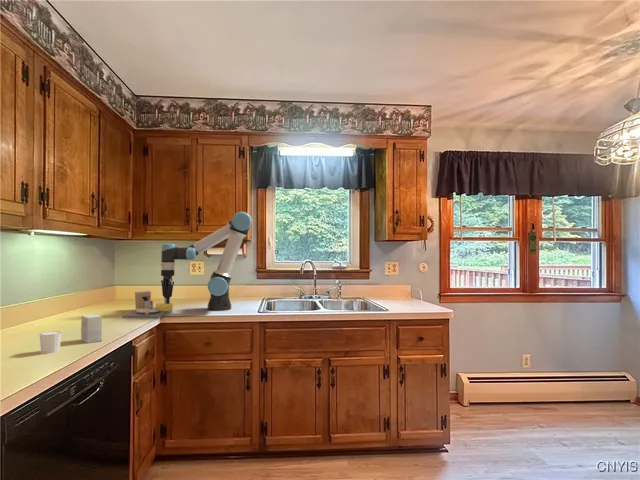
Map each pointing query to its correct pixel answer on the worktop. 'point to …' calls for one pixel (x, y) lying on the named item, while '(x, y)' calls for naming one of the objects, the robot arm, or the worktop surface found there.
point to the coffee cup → (142, 298)
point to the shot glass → (50, 342)
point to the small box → (91, 328)
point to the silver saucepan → (158, 308)
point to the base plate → (154, 315)
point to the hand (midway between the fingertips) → (166, 308)
